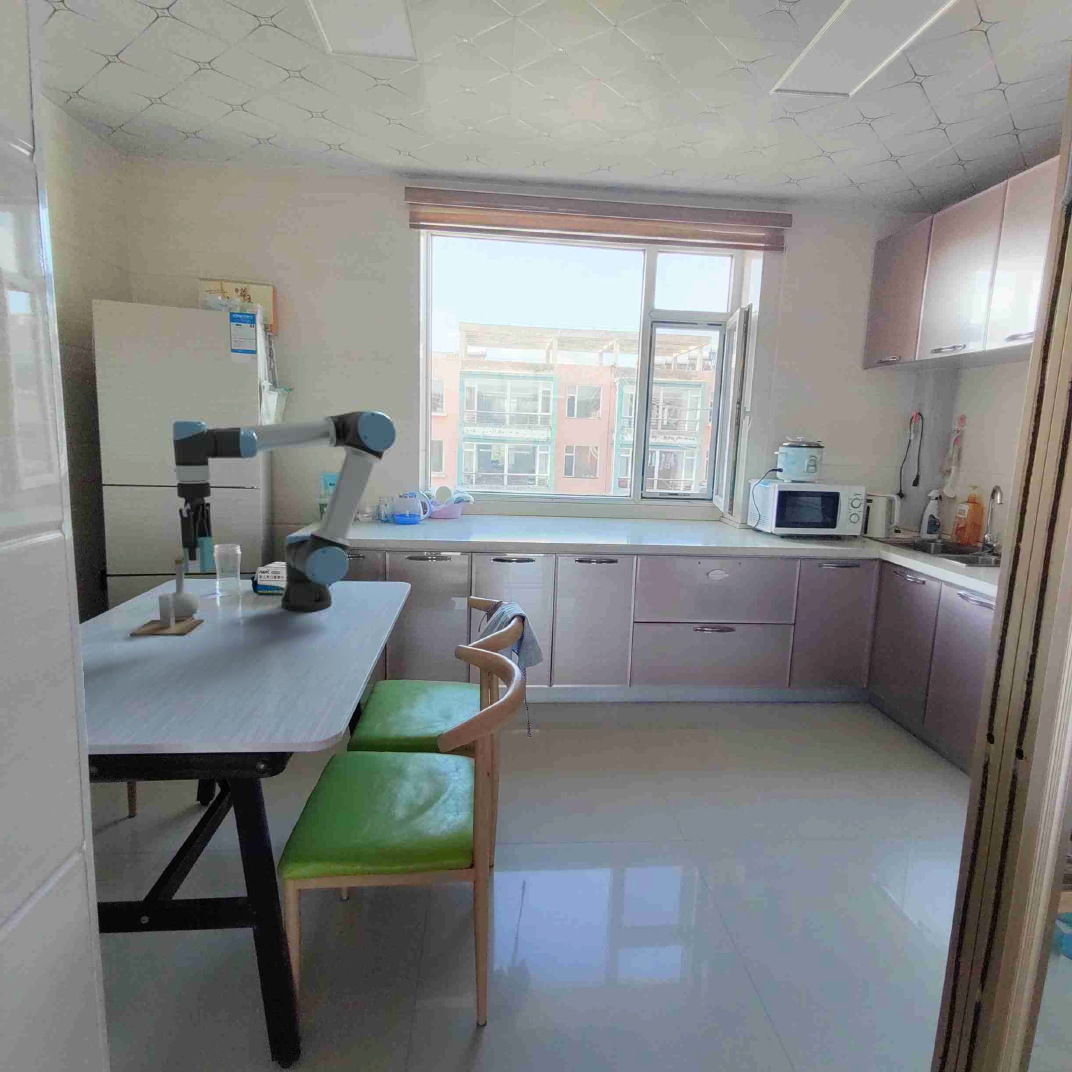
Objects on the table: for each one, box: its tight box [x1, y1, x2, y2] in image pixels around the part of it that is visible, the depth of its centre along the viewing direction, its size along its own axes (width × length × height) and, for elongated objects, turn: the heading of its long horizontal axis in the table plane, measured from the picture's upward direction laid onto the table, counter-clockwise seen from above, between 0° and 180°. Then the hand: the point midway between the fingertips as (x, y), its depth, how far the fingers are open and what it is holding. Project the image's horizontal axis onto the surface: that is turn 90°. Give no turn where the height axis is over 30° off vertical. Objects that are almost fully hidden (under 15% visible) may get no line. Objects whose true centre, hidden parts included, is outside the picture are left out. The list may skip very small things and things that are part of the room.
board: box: [129, 618, 205, 637], centre depth 170 cm, size 14×12×1 cm
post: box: [158, 593, 175, 628], centre depth 170 cm, size 3×3×9 cm
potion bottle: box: [171, 555, 199, 620], centre depth 178 cm, size 9×9×18 cm
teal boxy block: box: [182, 536, 215, 574], centre depth 161 cm, size 5×5×9 cm
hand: (199, 569), depth 162 cm, fingers closed on teal boxy block, 5 cm apart
